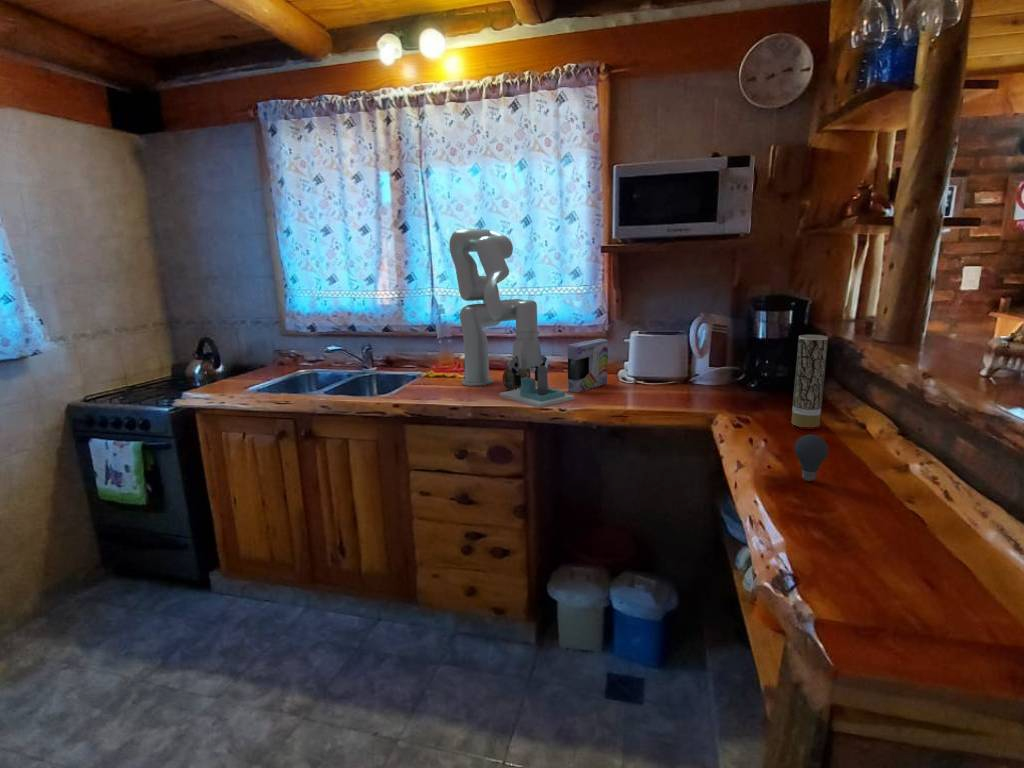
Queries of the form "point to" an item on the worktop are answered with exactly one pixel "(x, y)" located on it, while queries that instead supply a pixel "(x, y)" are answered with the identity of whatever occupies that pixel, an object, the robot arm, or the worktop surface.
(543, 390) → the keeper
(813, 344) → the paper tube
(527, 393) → the link
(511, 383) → the tin
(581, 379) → the cake pan box
